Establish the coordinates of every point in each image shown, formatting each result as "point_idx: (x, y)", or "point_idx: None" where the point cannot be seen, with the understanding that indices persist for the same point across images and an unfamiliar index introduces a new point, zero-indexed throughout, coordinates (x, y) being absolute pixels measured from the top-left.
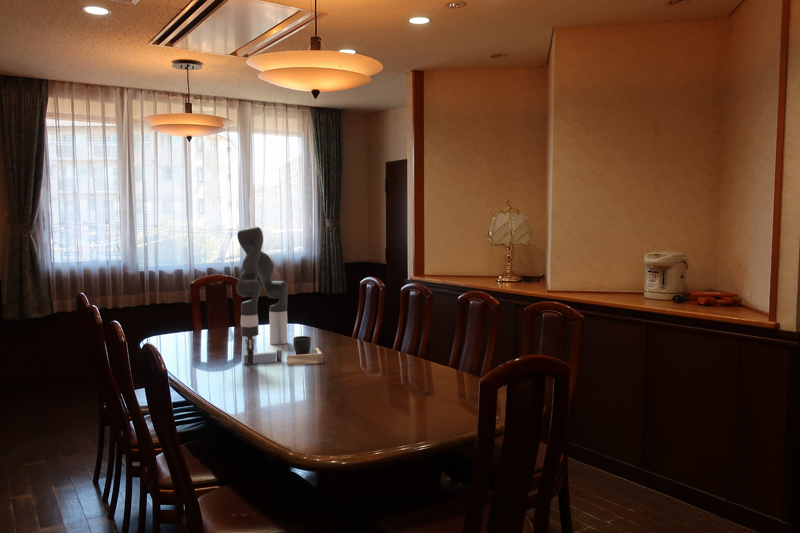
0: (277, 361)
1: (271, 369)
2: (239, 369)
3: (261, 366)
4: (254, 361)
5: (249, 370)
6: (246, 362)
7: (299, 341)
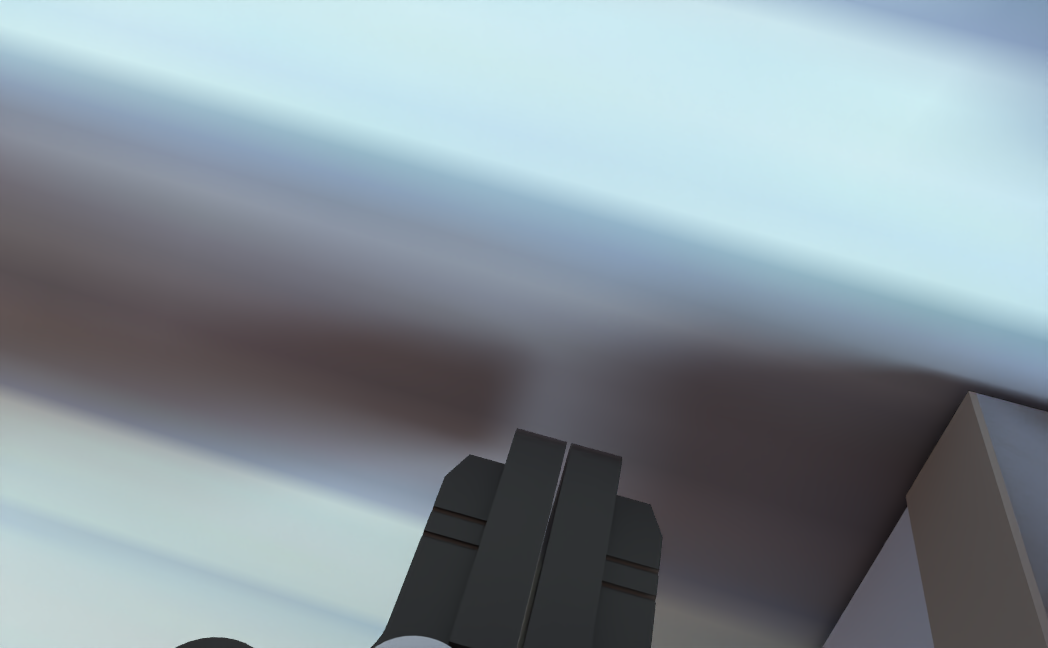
0: None
1: (132, 624)
2: (377, 57)
3: None
4: (851, 646)
5: (156, 268)
6: (946, 470)
7: None
